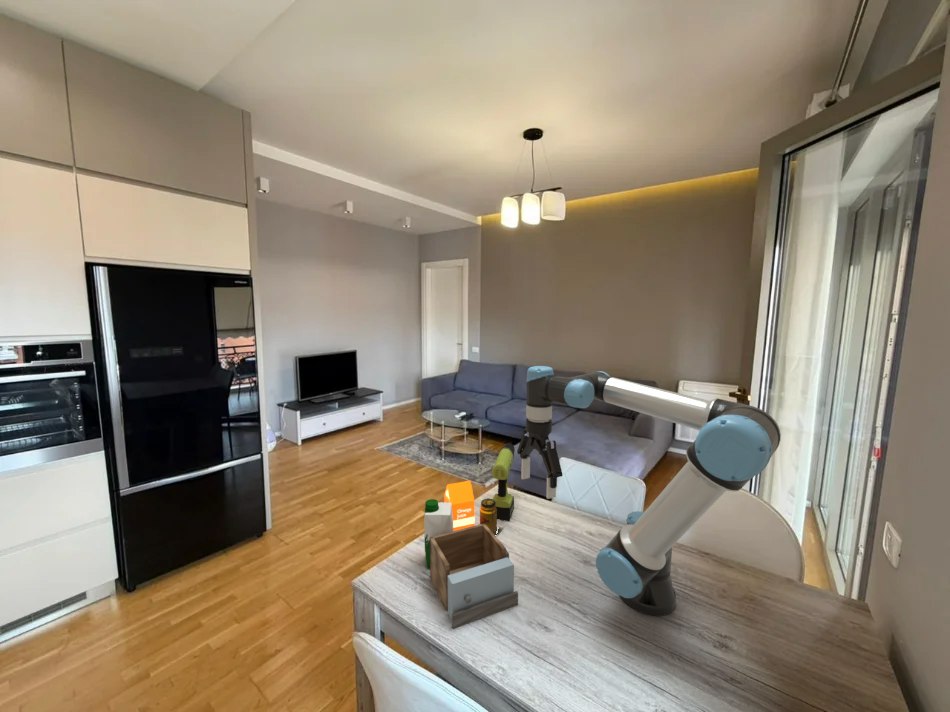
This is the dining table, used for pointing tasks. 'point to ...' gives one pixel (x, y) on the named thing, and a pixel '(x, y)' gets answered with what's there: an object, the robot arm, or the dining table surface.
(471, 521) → the orange juice
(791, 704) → the dining table surface
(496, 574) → the door
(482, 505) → the condiment
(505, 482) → the cordless drill
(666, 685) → the dining table surface
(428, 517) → the milk carton
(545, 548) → the dining table surface
